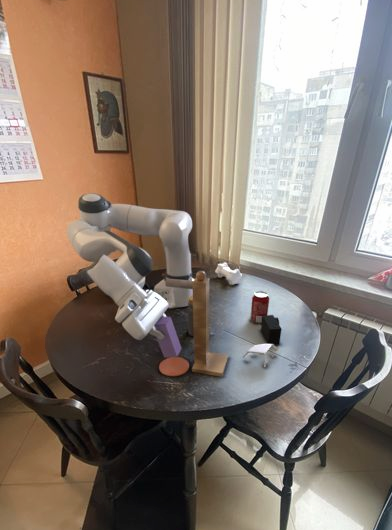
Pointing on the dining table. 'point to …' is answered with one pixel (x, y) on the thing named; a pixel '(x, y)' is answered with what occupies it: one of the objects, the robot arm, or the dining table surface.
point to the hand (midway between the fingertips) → (166, 332)
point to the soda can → (259, 306)
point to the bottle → (190, 316)
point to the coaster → (174, 366)
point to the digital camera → (271, 329)
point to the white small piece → (261, 350)
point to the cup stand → (201, 326)
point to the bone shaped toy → (228, 273)
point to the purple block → (168, 337)
